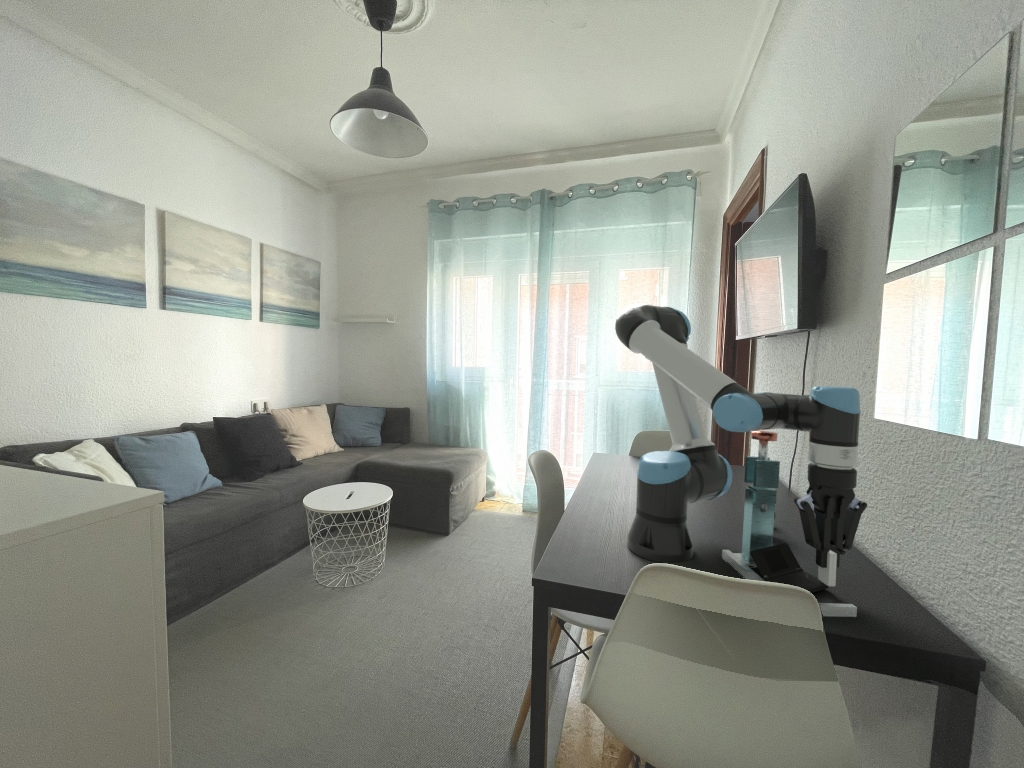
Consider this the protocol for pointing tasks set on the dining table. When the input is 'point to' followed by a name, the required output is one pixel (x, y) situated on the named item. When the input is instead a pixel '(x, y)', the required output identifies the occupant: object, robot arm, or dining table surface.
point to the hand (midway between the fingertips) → (826, 582)
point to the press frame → (766, 525)
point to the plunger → (763, 442)
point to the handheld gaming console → (784, 568)
